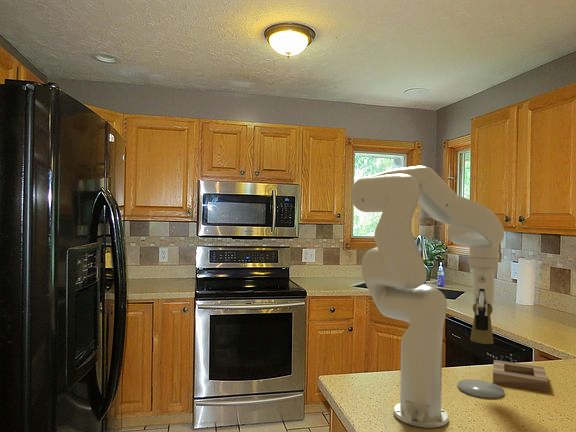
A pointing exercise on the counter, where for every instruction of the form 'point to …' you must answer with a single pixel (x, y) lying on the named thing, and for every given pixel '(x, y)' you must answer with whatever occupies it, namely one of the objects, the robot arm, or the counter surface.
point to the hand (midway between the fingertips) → (482, 327)
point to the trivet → (480, 389)
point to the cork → (482, 335)
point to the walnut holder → (520, 375)
